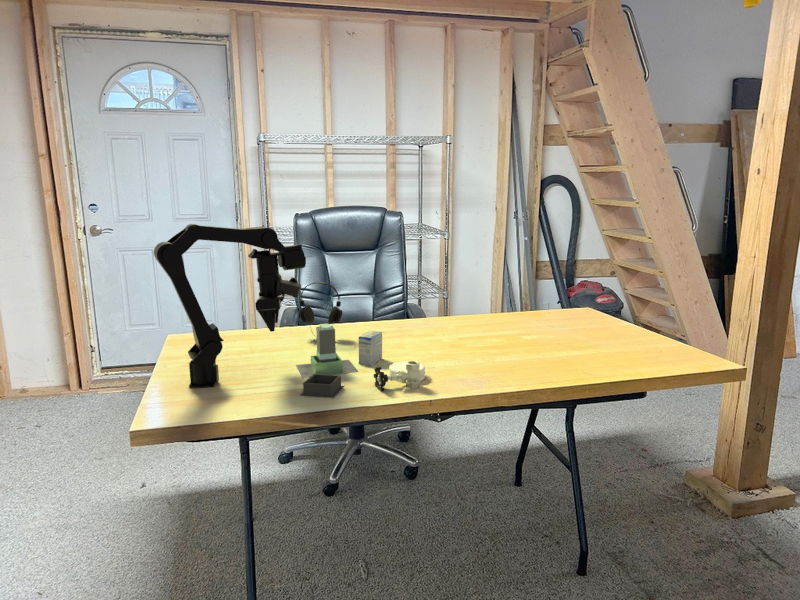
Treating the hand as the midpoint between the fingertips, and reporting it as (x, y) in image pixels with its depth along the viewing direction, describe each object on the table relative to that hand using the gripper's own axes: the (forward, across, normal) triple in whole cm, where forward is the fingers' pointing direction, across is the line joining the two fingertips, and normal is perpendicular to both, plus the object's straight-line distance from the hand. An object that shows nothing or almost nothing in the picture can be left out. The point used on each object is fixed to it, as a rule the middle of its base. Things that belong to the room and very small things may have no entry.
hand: (274, 326), depth 159 cm
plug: (+13, -1, -14) cm, 19 cm away
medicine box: (+15, +6, -27) cm, 31 cm away
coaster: (+15, -10, -36) cm, 40 cm away
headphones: (+15, +32, -11) cm, 37 cm away
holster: (+13, -19, -13) cm, 27 cm away
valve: (+15, -18, -33) cm, 40 cm away
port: (+14, -1, -14) cm, 20 cm away
